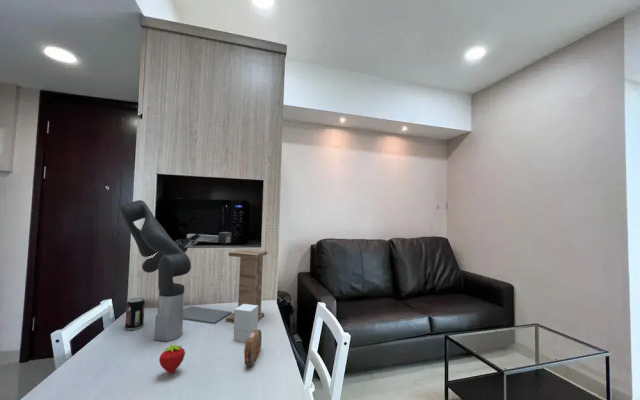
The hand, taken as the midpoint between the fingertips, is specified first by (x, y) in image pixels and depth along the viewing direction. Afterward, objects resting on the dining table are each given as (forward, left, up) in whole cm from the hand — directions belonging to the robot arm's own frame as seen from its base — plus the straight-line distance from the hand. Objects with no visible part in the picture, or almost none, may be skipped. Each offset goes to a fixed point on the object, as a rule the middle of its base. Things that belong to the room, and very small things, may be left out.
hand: (200, 234), depth 142 cm
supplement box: (-18, -37, -39) cm, 57 cm away
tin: (-31, -47, -39) cm, 69 cm away
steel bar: (0, -5, -3) cm, 5 cm away
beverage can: (-24, +13, -39) cm, 48 cm away
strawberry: (-47, -27, -39) cm, 67 cm away
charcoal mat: (-3, -5, -39) cm, 39 cm away
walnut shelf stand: (0, -27, -39) cm, 48 cm away
